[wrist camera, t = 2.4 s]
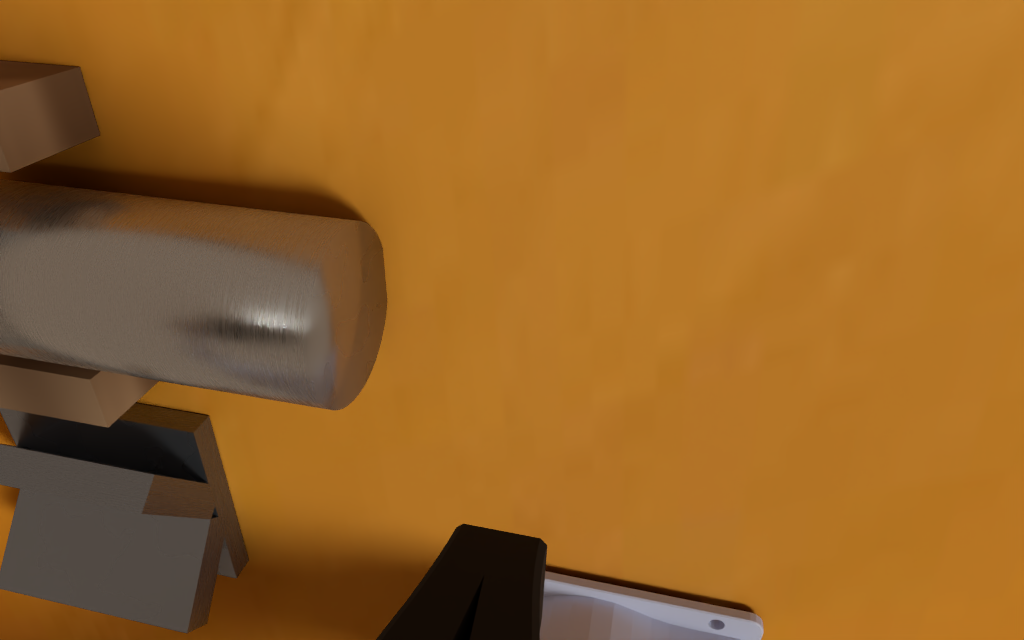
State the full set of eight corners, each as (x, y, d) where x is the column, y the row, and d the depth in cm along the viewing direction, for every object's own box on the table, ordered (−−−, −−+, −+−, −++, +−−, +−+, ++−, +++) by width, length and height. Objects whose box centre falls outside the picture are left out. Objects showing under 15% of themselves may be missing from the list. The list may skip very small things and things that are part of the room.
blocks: (79, 66, 18) (-18, 96, 16) (170, 369, 23) (108, 427, 21) (-49, 56, 19) (-161, 82, 16) (67, 352, 24) (-5, 406, 22)
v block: (208, 415, 24) (135, 496, 21) (248, 560, 28) (191, 646, 25) (13, 380, 26) (-85, 451, 22) (78, 523, 30) (3, 600, 26)
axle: (377, 188, 18) (290, 288, 14) (394, 334, 21) (325, 450, 17) (-13, 146, 20) (-178, 224, 16) (52, 284, 23) (-77, 378, 19)
